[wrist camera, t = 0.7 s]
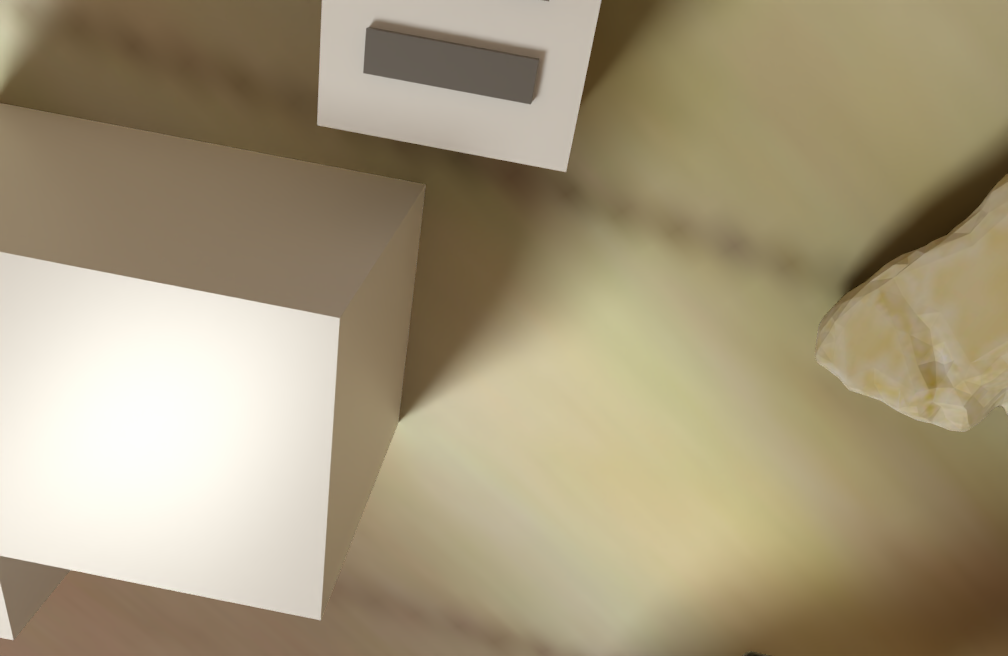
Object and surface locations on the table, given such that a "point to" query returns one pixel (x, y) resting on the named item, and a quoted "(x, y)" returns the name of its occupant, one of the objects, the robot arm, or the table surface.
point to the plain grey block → (195, 357)
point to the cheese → (931, 325)
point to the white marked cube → (459, 73)
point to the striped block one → (24, 592)
